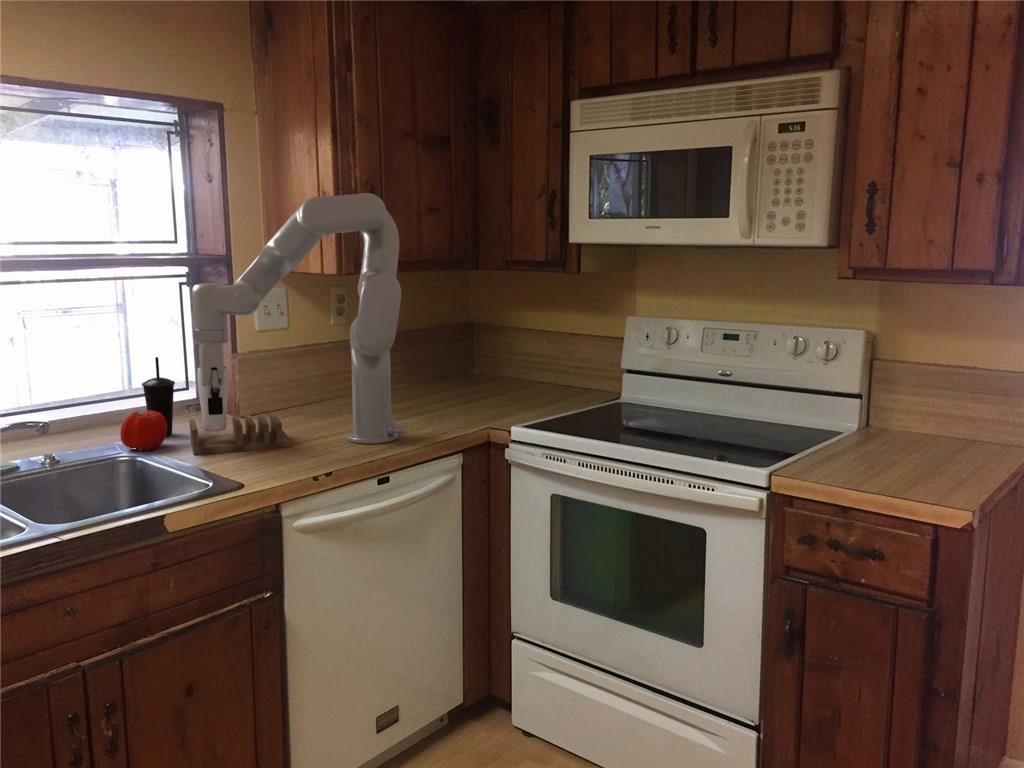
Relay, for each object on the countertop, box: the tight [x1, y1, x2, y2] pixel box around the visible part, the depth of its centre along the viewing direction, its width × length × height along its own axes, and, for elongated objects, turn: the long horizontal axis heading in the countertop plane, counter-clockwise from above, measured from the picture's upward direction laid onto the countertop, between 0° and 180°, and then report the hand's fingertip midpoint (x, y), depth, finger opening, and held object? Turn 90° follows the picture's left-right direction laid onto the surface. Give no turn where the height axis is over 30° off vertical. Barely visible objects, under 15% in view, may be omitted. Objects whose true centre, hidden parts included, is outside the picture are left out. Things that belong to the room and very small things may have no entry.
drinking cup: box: [141, 356, 176, 438], centre depth 214 cm, size 8×8×20 cm
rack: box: [189, 412, 291, 456], centre depth 207 cm, size 22×12×6 cm, turn 113°
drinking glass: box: [196, 365, 229, 432], centre depth 203 cm, size 7×7×15 cm
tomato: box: [120, 410, 167, 451], centre depth 203 cm, size 11×11×9 cm
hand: (214, 410), depth 204 cm, fingers closed on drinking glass, 5 cm apart
